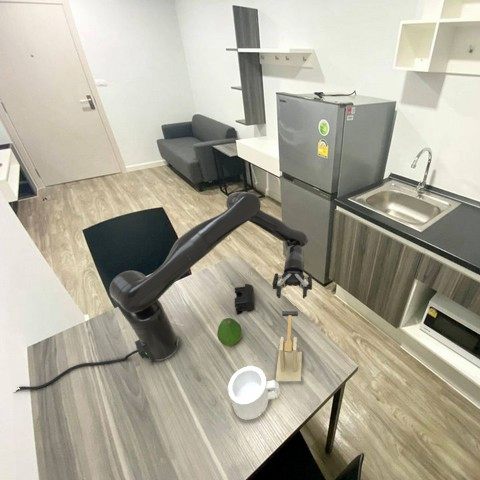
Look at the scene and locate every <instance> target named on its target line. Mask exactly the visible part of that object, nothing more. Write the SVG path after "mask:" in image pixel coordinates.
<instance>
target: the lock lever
mask: <svg viewBox="0 0 480 480" xmlns="http://www.w3.org/2000/svg"><path fill="white" fill-rule="evenodd" d="M281 317H287V332H286V340H284V346H285V347H284V351H285V352H293V341H292V325H293V323H292V320H293V317H299V311H297V310H293V311H292V310H282V313H281Z"/></svg>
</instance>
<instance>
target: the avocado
mask: <svg viewBox="0 0 480 480" xmlns="http://www.w3.org/2000/svg"><path fill="white" fill-rule="evenodd" d="M216 335H217V339H218V342H220V343H221V344H222V345H223V346H225V347H233V346H234V345H236V344H237V343H238V342H240V340H241V338H242V335H243V330H242V326H241V324H240V323H239V322H238V321H236V320H235V319H233V318H231V317H225V318H223V319H222V320H221V321H220V323H219V325H218V328H217V334H216Z"/></svg>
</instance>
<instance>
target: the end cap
mask: <svg viewBox="0 0 480 480" xmlns="http://www.w3.org/2000/svg"><path fill="white" fill-rule="evenodd" d="M254 291H255V290H254V287H253V285H252V284H250V283H244V286H238V287H234V294H235V297H234V307H235V312H236V314H237V315H241V314H243V311H246V312H247V313H249V312H252V311H254V309H255V292H254Z"/></svg>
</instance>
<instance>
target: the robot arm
mask: <svg viewBox="0 0 480 480" xmlns="http://www.w3.org/2000/svg"><path fill="white" fill-rule="evenodd" d="M225 202H226V203H225V205H226V210H224V211H223V212H221V213H220V214H218V215H216V216H213V217H211V218H209V219H207V220H204V221H201V222H200V223H197V224H196V225H194V226H193V227H191V228H190V229H189V230H187V231H186V232H184V233H183V234H182V235H181V236H180V237H178V238H177V240H175V242H174V243H173V246H172V247H171V248H170V251H169V253H168V255H167V256H166V258H165V260H164V262H163V263H162V264H161V265H160V266H159V267H158V268H157V269H156V270H154V271H153V272H152V273H151V274H149V275H148V276H146V275H145V274H144V273H142V272H140V271H137V270H126V271H122V272H121V273H119V274H118V275H116V276H115V277H114V278H112V281H111V283H110V285H109V295H110V297H111V298H112V300H113V301H114V303H115V305H116V306H117V308H118V309H119V311H120V313H121V314H122V316H123V317H124V319H125V320H126V321H127V322H128V323H129V325H130V326H131V328H132V330H133V331H134V334H135V335H136V336H137V338H138V340H136V341H134V345H135V346H136V350H134V351H132V352H130V353H128V354H127V355H126V356H124V357H122V358H117V359H112V360H104V361H97V362H83V363H78V364H76V365H73V366H71V367H69V368H67V369H65V370H64V371H62V372H61V373H60V374H58V375H57V376H55V377H54V378H53V379H51V380H49V381H48V382H45V383H43V384H40V385H35V386H27V385H26V386H18V387H19V388H20V390H22V391H23V390H27V391H31V390H38V389H42V388H45V387H47V386H49V385H51V384H53V383H55V382H56V381H57V380H59V379H60V378H61V377H63V376H64V375H65V374H67V373H69V372H70V371H72V370H75V369H77V368H80V367H86V366H87V367H88V366H100V365H105V364H106V365H107V364H114V363H119V362H123V361H127V360H128V359H129V358H130V357H131V356H133V355H135V354H137V353H138V355H139V356H140V358H141V359H144V358H146V357H148V359H149V361H150V362H151V363H156V362H162V361H166V360H168V359H170V358H171V357H173V356H174V355H175V354H176V352H177V351H178V349H179V347H180V340H179V337H178V336H177V334H176V332H175V330H174V328H173V326H172V324H171V321H170V319H169V318H168V315H167V313H166V311H165V309H164V306H163V304H162V303H161V302H160V300H159V299H160V298H161V297H162V296H163V295H164V294H165V293H166V292H167V291H168V290H169V289H170V288H171V287H172V285H174V284H175V283H176V282H177V281H178V280H179V279H180V278H181V277H183V275H184V274H186V273H187V272H188V271H189V270H190V269H191V268H192V267H193V266H194V265H196V264H197V263H198V262H199V261H201V260H202V259H203V258H205V256H207V255H208V254H209V253H211V252H212V251H213V250H214V249H215V248H217V246H218V245H219V244H221V243H222V242H223V241H224V240H225V239H227V237H229V236H230V235H231V234H232V233H234V232H235V231H236V230H238V229H239V228H240V227H241V226H243V225H244V224H246V223H247V222H249V223H251V224H253V225H255V226H256V227H259V228H260V229H261V230H263V231H265V232H267V233H268V234H270V235H271V236H272V237H274V238H276V239H277V240H279V241H281V242H284V243H283V244H284V247H285V251H286V255H285V260H284V267H283V273H282V274H279V273H274V275H273V279H272V284H271V285H272V289H273V290H276V292H275V293H276V297H277V298H278V299H281V296H282V290H283V289H285V288H287V287H291V286H294V287H297V286H298V287H299V288H300V289H302V299H306V298H307V297H308V290H309V291H312V290H313V278H312V273H307V274H308V275H305V274H304V268H305V260H304V256H305V255H304V248H303V247H304V246H306V245H307V244H308V242H309V238H308V235H307V234H306V233H305V232H304V231H303V230H301V229H298V228H295V227H292V226H289V225H288V224H286V223H285V222H284V221H282V220H281V219H279V218H277V217H275V216H273V215H271V214H269V213H267V212H266V211H263V210H262V209H261V207H262V206H261V205H262V204H261V199H260V197H259V196H258V195H257V194H255V193H252V192H249V191H234V192H232V193H230V194H229V195H228V196H227V198H226V201H225ZM305 280H306V282H307V283H306V282H305ZM20 390H19V391H20Z"/></svg>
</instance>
